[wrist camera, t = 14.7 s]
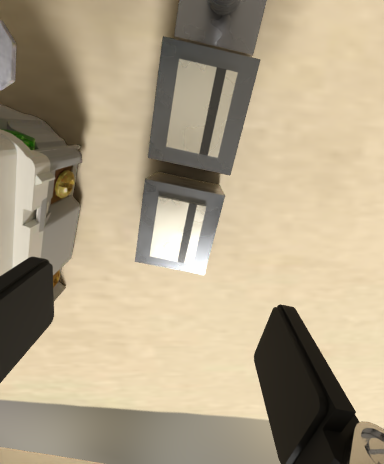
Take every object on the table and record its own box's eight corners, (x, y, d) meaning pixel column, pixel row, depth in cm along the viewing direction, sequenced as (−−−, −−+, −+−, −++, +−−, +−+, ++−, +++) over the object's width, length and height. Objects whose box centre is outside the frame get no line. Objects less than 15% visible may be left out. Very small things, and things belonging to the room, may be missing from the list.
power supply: (172, 64, 18) (161, 32, 13) (244, 81, 18) (262, 56, 13) (159, 155, 20) (146, 158, 15) (223, 168, 21) (231, 176, 16)
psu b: (157, 171, 21) (143, 179, 16) (219, 184, 21) (225, 196, 16) (147, 238, 23) (133, 264, 18) (203, 249, 24) (204, 277, 19)
